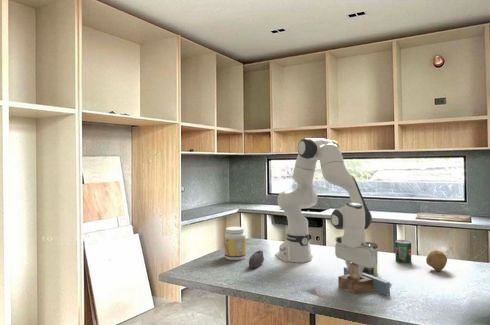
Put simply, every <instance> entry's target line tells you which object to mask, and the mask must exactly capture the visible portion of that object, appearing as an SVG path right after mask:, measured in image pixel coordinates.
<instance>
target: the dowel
mask: <svg viewBox="0 0 490 325" xmlns="http://www.w3.org/2000/svg"><path fill="white" fill-rule="evenodd" d="M359 268H360V267H359V265H358V264H355V263H352V262H351V263H350V279H352V280H355V281H356V280H360V275H358V274H357V270H359Z"/></svg>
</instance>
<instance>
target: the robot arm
mask: <svg viewBox="0 0 490 325" xmlns="http://www.w3.org/2000/svg"><path fill="white" fill-rule="evenodd" d="M297 154H298V155H297V156H296V160H295V164H294V168H293V173H292V180H293V181H294V182H295V183H296V189H288V190H284V191H282V192H280V193H279V194H278V196H277V204H278V206H279V208H280V209H281V210H283V212H284V214H285V216H286V219H287V233H286V234H285V236H286V239H285V241H283V242H282V243H281V244H280V245H279V248H278V249H279V250H278V251H277V252H276V253H275V252H274V253H275V254H274V256H276V257H277V258H279V259H281V260H282V262H285V263H306V262H307V263H308V262H310V261H312V258H313V254H312V252H311V251H312V249H311V243H310V234H309V220H308V219H307V218H306V217H305V216H304V215H303V214H302V209H303V210H304V209H309V208H311V207H314V206H315V205H317V203H318V198H319V197H318V194H317V192H316V191H315V190H314V184H313V181H314V176H315V172H316V167H317V162H318V161H319V162H320V170H321V174H322V176H323V178H324V180H325V181H326V182H328V183H329V184H331V185H332V186H333V185H334V186H337V187H339V188H342V189H343V190H345V191H346V192H347V193H348V195H349V198H350V201H351V202H347V203H345V204H344V206H342V207H340V208H339V207H338V208H336V209H333V211H332V212H331V214H330V223H331V225H332V226H333V228H334V229H336V230H341V231H342V230H343V235H341V236H336V237H335V242H336V243H335V246H334V253H335V257H336V258H338V259H340V260H343V261H344V262H345V265H346V267H347V270H348V271H350V263H355V264H358V265H359V267H360V268H359V270H357V274H358V275H362V271H363V269H364V268H365V267H367V268H374V267H375V266H376V258H375V253H374V249H373V247H372V246H371V245H367V244H365V242H366V232H365V230H366V229H369V227H370V225H371V224H372V220H373V217H372V214H371V211H370V209H369V208H368V207H367V204H366V202H365V200H364V197H363V195H362V194H363V193H362V192H361V190H360V186H359V185H358V182H357V180H356V178H355V176H353V175H352V174H351V173H350V172H349V171H348V169H347V168H346V167H347V166H346V165H345V161H344V158H343V154H342V151H341V150H340V146H339V143H338V141H336V140H334V139H328V138H321V137H318V138H317V137H314V138H312V137H304V138H302V139H300V141H298V144H297Z"/></svg>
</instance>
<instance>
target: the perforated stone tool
mask: <svg viewBox="0 0 490 325" xmlns="http://www.w3.org/2000/svg"><path fill="white" fill-rule="evenodd" d="M264 260H265V256H264V251H263V250H260V249H259V250H258V251H255V252H254V253H253V254H252V255H251V256H250V257H249V260H248V267H249V268H250V269H256V268H258V267H259V266H261V265H262V263H264Z"/></svg>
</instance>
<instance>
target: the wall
mask: <svg viewBox="0 0 490 325" xmlns="http://www.w3.org/2000/svg"><path fill="white" fill-rule="evenodd" d="M347 274H350V271H348V270H347V266H344V267H343V275H347ZM362 275H363V276H366V277H368V278H371V279H373V290H372V291H375V292H378V293H380V294H382V295H385V296H389V295H391V281H388V280H385V279H382V278H380V277H379V278H378V277H377V276H371V275H369V274H366V273H363V272H362Z"/></svg>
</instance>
